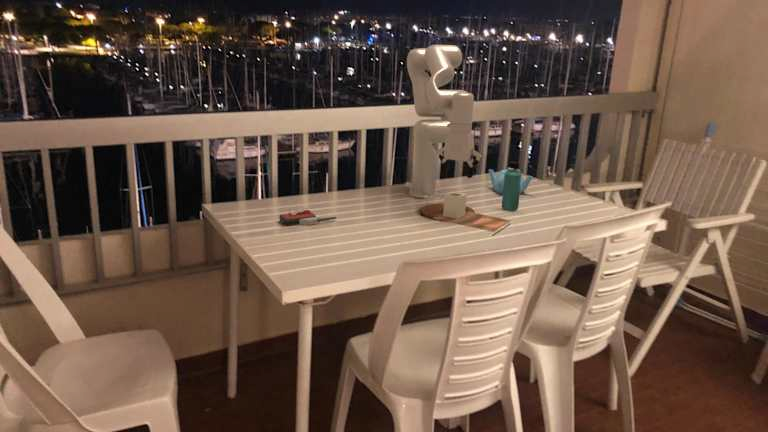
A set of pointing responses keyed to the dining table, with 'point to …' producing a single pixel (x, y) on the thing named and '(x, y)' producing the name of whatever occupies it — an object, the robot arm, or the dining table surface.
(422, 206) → the dining table surface
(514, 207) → the beverage bottle
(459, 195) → the beige upright block
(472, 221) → the board
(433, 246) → the dining table surface
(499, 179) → the teapot
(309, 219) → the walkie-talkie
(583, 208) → the dining table surface
